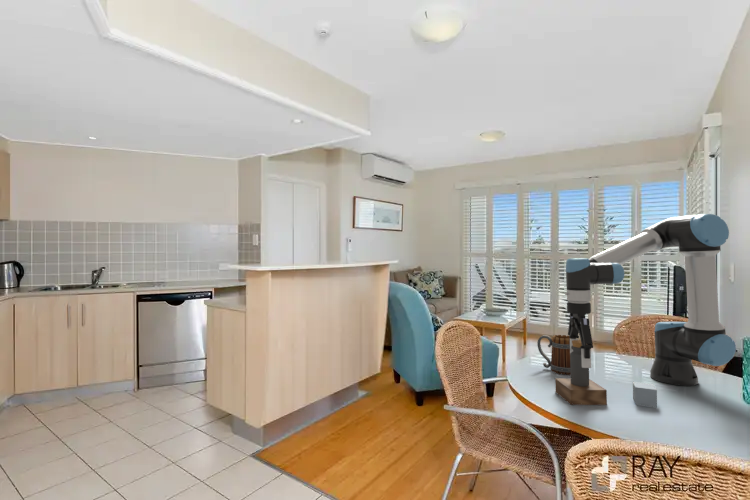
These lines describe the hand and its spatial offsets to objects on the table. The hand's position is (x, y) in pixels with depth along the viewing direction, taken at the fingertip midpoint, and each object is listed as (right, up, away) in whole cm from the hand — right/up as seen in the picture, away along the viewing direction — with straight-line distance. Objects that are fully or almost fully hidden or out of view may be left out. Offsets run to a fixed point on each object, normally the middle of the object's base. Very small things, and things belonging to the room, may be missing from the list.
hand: (580, 361), depth 138 cm
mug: (+7, -13, +31) cm, 34 cm away
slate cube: (+19, -13, -5) cm, 24 cm away
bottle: (0, -8, 0) cm, 8 cm away
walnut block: (0, -13, 0) cm, 13 cm away
